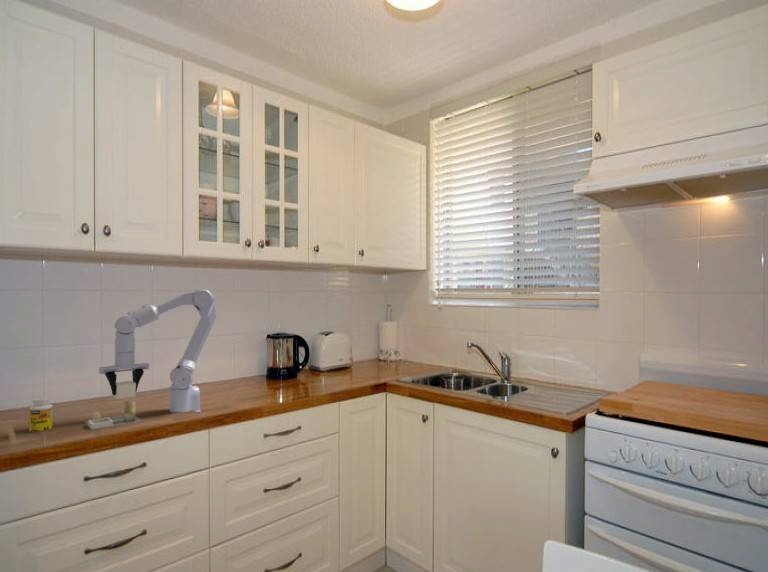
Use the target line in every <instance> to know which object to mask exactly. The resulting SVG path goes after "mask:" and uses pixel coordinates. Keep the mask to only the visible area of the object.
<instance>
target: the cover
mask: <svg viewBox="0 0 768 572" xmlns="http://www.w3.org/2000/svg"><path fill="white" fill-rule="evenodd" d="M136 393H137V391H136V383H135V382H133V380H127V381H118V382H117V381H116V395H112V396H113V397H114V398H115V399H116V400H119V399H127V398H133V397H136Z"/></svg>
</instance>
